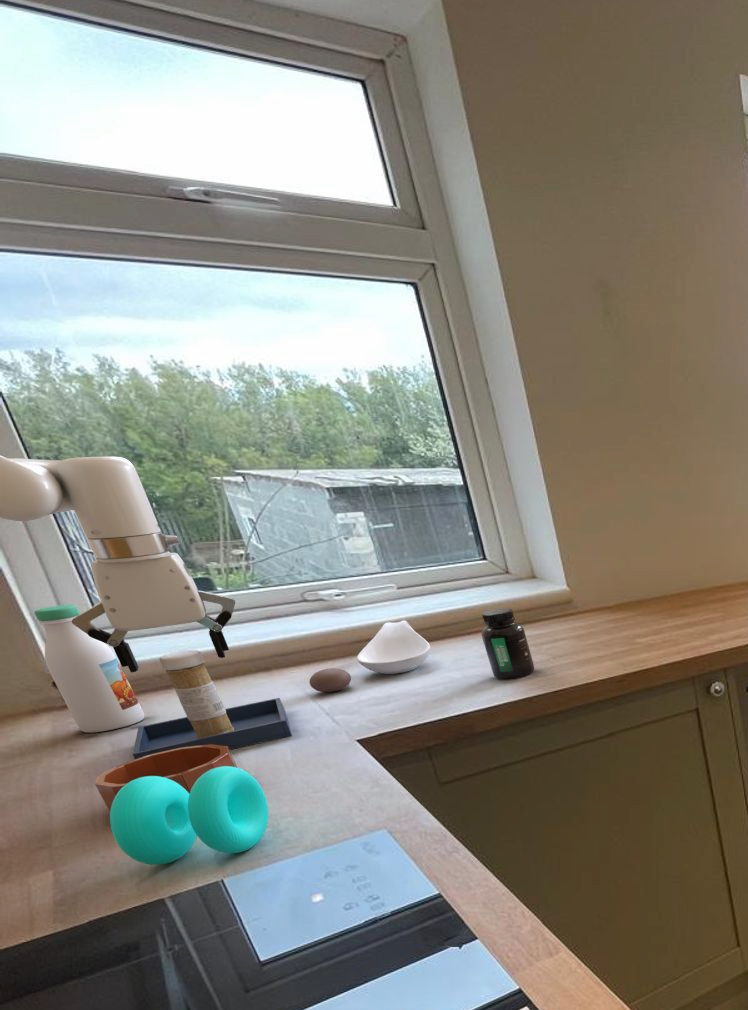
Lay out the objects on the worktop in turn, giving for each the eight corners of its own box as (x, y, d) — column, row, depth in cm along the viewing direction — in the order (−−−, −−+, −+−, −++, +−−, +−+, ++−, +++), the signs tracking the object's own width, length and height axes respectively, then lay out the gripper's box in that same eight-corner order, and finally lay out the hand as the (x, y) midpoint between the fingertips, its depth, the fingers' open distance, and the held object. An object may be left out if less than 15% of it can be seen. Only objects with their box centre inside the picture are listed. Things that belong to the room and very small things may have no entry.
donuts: (240, 866, 90) (201, 787, 86) (130, 884, 88) (86, 802, 84) (284, 825, 99) (251, 751, 95) (186, 839, 97) (148, 764, 93)
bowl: (110, 832, 99) (91, 795, 97) (118, 799, 108) (100, 765, 106) (244, 797, 107) (229, 763, 105) (241, 769, 116) (227, 737, 114)
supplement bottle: (513, 681, 148) (494, 617, 143) (485, 678, 150) (466, 615, 145) (543, 669, 154) (526, 607, 149) (516, 667, 156) (498, 606, 151)
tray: (140, 770, 117) (132, 754, 116) (145, 742, 127) (138, 726, 126) (292, 735, 127) (285, 720, 126) (285, 711, 138) (279, 697, 137)
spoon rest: (434, 672, 155) (422, 635, 153) (359, 684, 150) (346, 647, 147) (439, 643, 174) (429, 611, 171) (373, 653, 169) (361, 620, 166)
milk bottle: (113, 733, 131) (51, 612, 123) (67, 734, 132) (2, 614, 124) (159, 715, 138) (103, 600, 131) (115, 716, 139) (57, 602, 131)
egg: (306, 694, 146) (297, 673, 144) (341, 683, 151) (333, 663, 149) (327, 697, 144) (319, 676, 142) (362, 686, 149) (354, 665, 147)
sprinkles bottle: (215, 730, 129) (178, 649, 124) (243, 729, 129) (207, 648, 124) (188, 741, 125) (149, 658, 119) (217, 740, 125) (179, 657, 119)
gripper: (211, 538, 123) (253, 646, 130) (45, 553, 113) (100, 670, 119) (211, 543, 118) (255, 655, 125) (37, 559, 107) (95, 681, 114)
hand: (179, 663), depth 122 cm, fingers open, 9 cm apart
